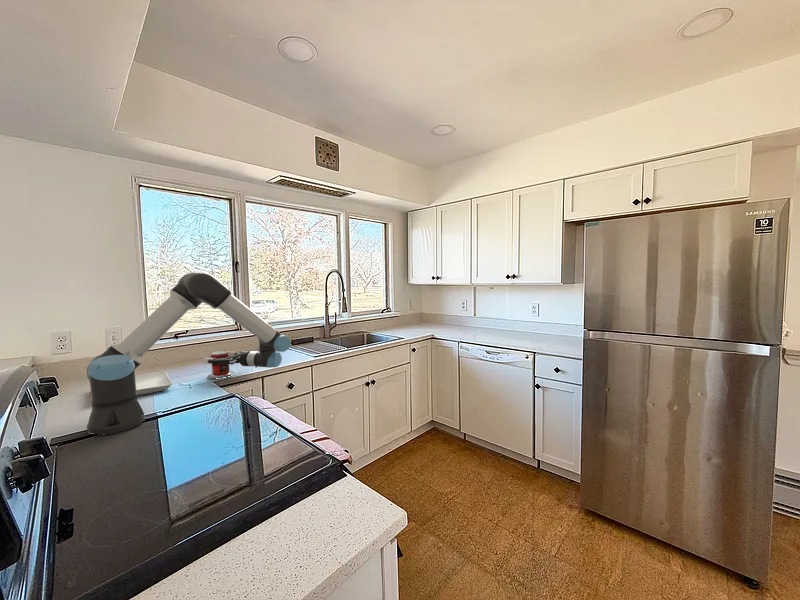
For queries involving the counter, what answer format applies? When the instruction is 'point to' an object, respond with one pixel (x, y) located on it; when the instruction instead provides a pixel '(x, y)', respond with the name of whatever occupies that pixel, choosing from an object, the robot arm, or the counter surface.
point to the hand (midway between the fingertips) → (214, 357)
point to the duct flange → (220, 375)
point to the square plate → (151, 383)
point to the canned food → (220, 369)
